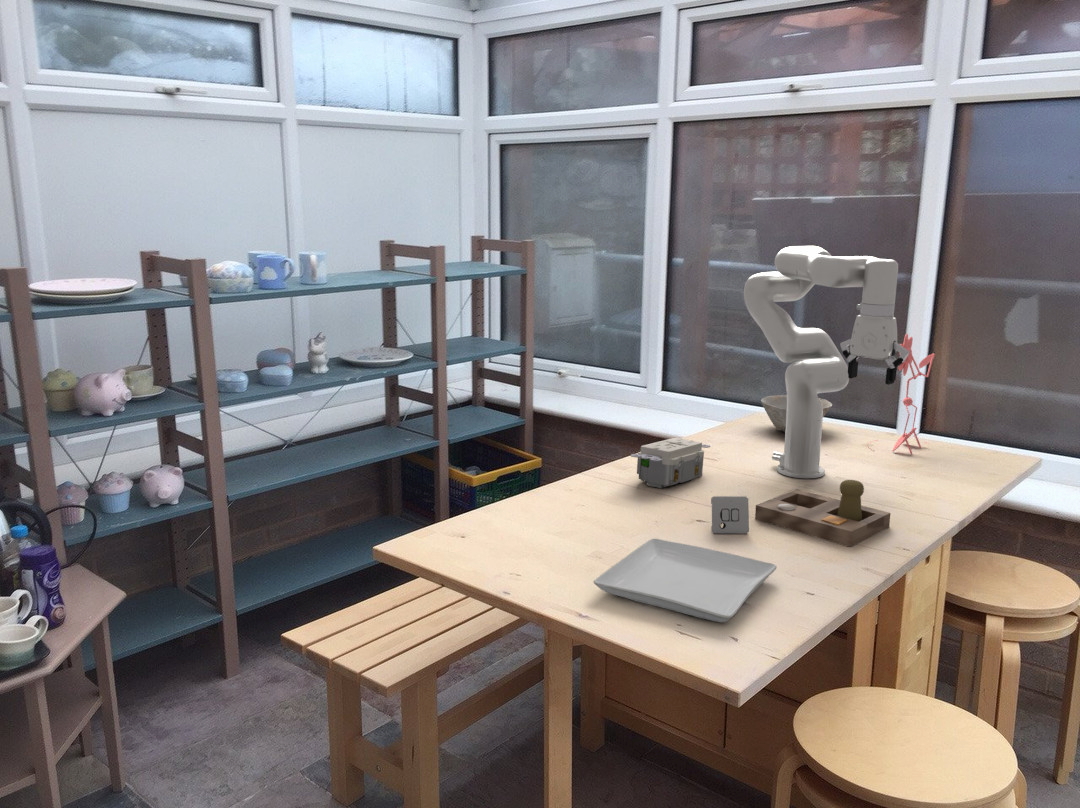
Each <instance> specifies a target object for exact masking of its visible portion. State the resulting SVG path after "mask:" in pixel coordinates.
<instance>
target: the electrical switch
mask: <svg viewBox="0 0 1080 808" xmlns="http://www.w3.org/2000/svg"><path fill="white" fill-rule="evenodd" d="M710 504H711V527H710V529H711V533H713V534H748V533H749V531H750V521H749V519H750V517H749V513H750V512H749V507H750V506H749V505H750V504H749V497H747V496H746V495H744V496H742V495H741V496H739V495H738V496H737V495H735V496H734V495H732V496H731V495H729V496H728V495H727V496H726V495H724V496H723V495H716V496H715V495H713V496H712V497H711V498H710ZM722 524H723V526H722Z"/></svg>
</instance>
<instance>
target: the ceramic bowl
mask: <svg viewBox="0 0 1080 808" xmlns="http://www.w3.org/2000/svg"><path fill="white" fill-rule="evenodd" d="M818 399H819V401H820V403H821V405H822V408H823V418H825V416H826V415H827V413H828V412H829V410H830V409H831V408H832V406H833V403H832V402H830V401H829V400H827V399H824V398H820V397H818ZM761 404H762V407H763V409H764V411H765V413H766V415H767V416H768V418H769V420H770V422H771V424H773V426H774V427H775V428H776V429H778V430H779V431H782V432H784V433H785V431H786V413H787V394H783V395H782V394H781V395H778V394H777V395H768V396H764V397H762V398H761Z"/></svg>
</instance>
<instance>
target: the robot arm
mask: <svg viewBox="0 0 1080 808" xmlns="http://www.w3.org/2000/svg"><path fill="white" fill-rule="evenodd" d="M774 267H775V268H776V271H763V272H759V273H755V274H752V275H751V276H750V277H748V279H747V280H746V281H745V284H744V288H743V299H744V303H745V307H746V309H747V311H748V314H750V316H751V318H753V320H754V322H755V323H756V324H757V325H758V327H759V328H760V329H761V331H762V333H763V334H764V336H765V338H766V340H767V342H768V343H769V345H770V347H771V349H772V350H773V352H774V354H775V355H776V357H777V358H778V359H779V361H781V362H782V363H785V364H788V366H787V368H786V370H785V373H784V379H785V380H784V381H785V382H784V383H785V388H786V389H785V390H786V395H787V413H786V431H785V432H784V433H785V434H784V449H783V450H784V451H783V453H782V452H779V451H773V452H772V453H773V454H772V456H771V459H772V461H779V464H778V465H777V467H776V471H777V473H779V474H781V475H783V476H786V477H790V478H795V479H817V478H822V477H823V476H824V475H825V473H826V471H825V468H824V467H822V466H820V460H821V449H822V448H821V446H822V435H823V433H822V432H823V421H824V420H823V418H824V417H823V408H822V405H821V403H820V401H819V399H818V398H819V396H818V394H824V393H836V392H839V391H842V390H844V389H845V388H846V387H847V386H848V384H849V381H850V379H854V378H857V377H858V369H859V361H858V359H859V358H867V359H872V360H880V361H882V360H883V361H885V363H886V364H887V366H888V367H887V368H886V373H885V385H893V384H894V383H895V382H896V380H897V371H898V368H899V365H901V364H902V363H903V362H904V361H905V359H906V358H907V356H908V355H909V351H908V350H907V349H905V348H904V347H902V346H901V345H900V344H901V343H899V342H898V325H897V323H898V322H897V318H896V317H894V316H895V315H894V314H895V307H896V304H895V303H896V295H897V285H898V278H899V277H898V275H899V263H898V262H897V261H896V260H895V259H890V258H889V259H887V258H878V257H875V256H870V255H869V256H868V255H863V256H862V255H860V256H859V255H854V256H851V255H850V256H847V255H845V256H832V254H831V253H830V252H828V251H827V250H825V249H824V248H823V247H820V246H816V245H792V246H787V247H784V248H782V249H780V251H779V252H778V253H777V254H776V255H775V258H774ZM815 285H817V286H823V287H829V288H838V289H842V288H862V294H861V302H860V304H858V303H857V304H856V306H855V307H856V308H855V309H856V310H859V314H857V315H856V317H855V321H854V324H853V328H852V333H851V338H849V339H847V340H844V341H842V342H840V345H839V346H840V348H841V351H842V354H841V352H840V351H839V349H838V348H837V346H836V345H835V343H834V341H833V340H832V338H831V337H830V335H829V334H828V333H827V332H825V331H824V330H823V329H821V328H818V327H817V328H816V327H799V326H797V325H796V323H795V322H794V320H793V318H792V317H791V315H790V314H789V313H788V312H787V311H786V310H785V309H784V308H782V307H781V306H780V305H778V302H779V303H780V302H796V301H798V300H800V299H802V298H804V297H805V296H806V295H807V294H808V292H809V291H810V290H811V289H812V288H814V286H815ZM897 352H898V353H899V357H898V358H896V355H897ZM842 355H843V356H844V357H845V359H846V361H845V359H844V357H843V356H842ZM847 363H848V365H847ZM897 367H898V368H897Z"/></svg>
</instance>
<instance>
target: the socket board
mask: <svg viewBox="0 0 1080 808" xmlns="http://www.w3.org/2000/svg"><path fill="white" fill-rule="evenodd" d="M840 501H841V499H838V498H834V497H829V496H826V495H822V494H818V493H814V492H810V491H805V490H803V489H797V488H796V489H794V490H790V491H788V492H786V493H783V494H781V495H778V496H776V497H773V498H771V499H769V500H765V501H763V502H759V503H757V504H756V505H755V511H754V512H755V514H754V520H756V521H760V522H763V523H767V524H770V525H773V526H777V527H780V528H783V529H787V530H790V531H793V532H797V533H798V532H799V533H801V534H804V535H808V536H811V537H814V538H818V539H822V540H823V541H824V540H825V541H829V542H831V543H835V544H839V545H842V546H846V547H849V548H851V547H853V546H855V545H857V544H859V543H861V542H863V541H866V540H867V539H869V538H871V537H873V536H875V535H877V534H879V533H881V532H883V531H885V530H887V529H889V528H890V525H891V524H890V522H891V512H890V511H885V510H881V509H878V508H873V507H869V506H864V505H862V504H861V511H862V521H859V522H858V521H854V520H850V519H847V518H843V517H839V516H837V514H838V510H839V505H840Z"/></svg>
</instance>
